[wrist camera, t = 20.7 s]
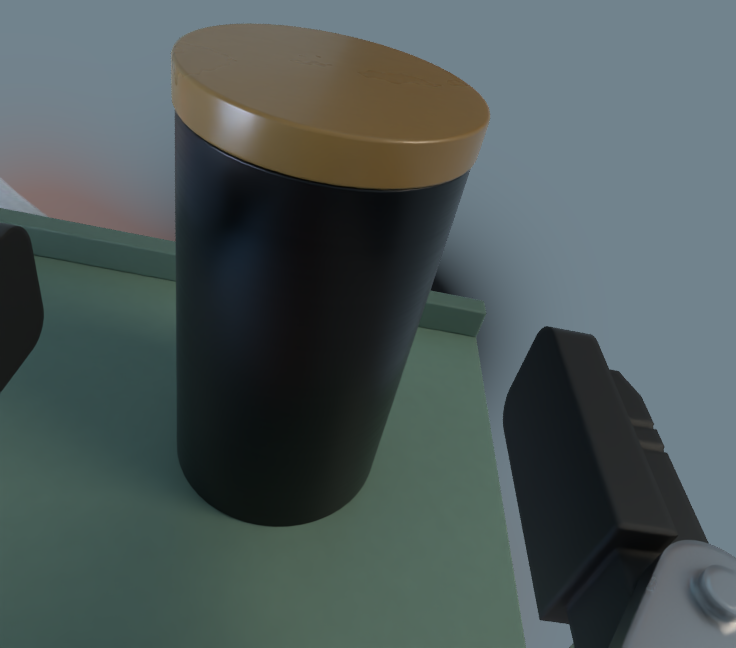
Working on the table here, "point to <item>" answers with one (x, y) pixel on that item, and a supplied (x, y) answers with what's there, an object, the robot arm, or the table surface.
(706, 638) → the robot arm
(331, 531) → the shelf
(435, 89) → the black tea tin
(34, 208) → the table surface
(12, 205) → the table surface
